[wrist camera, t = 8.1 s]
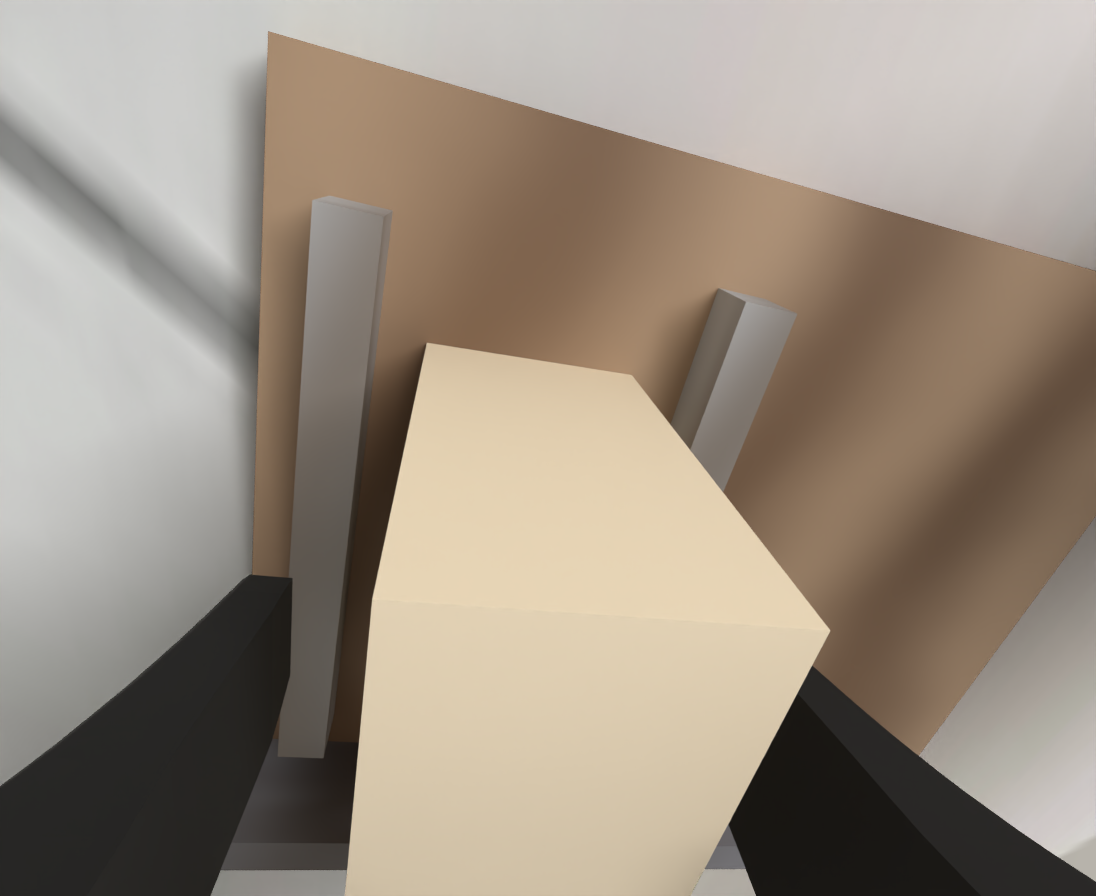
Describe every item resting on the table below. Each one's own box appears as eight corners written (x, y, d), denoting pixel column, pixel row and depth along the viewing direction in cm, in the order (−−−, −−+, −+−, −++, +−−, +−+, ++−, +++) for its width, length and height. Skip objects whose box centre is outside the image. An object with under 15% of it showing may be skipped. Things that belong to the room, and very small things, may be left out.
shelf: (1193, 304, 14) (1410, 347, 10) (874, 762, 20) (948, 872, 17) (287, 43, 9) (196, -16, 6) (258, 735, 16) (207, 875, 13)
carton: (549, 675, 15) (609, 1047, 9) (389, 668, 14) (328, 1073, 8) (631, 374, 11) (830, 629, 5) (426, 342, 11) (372, 598, 4)
